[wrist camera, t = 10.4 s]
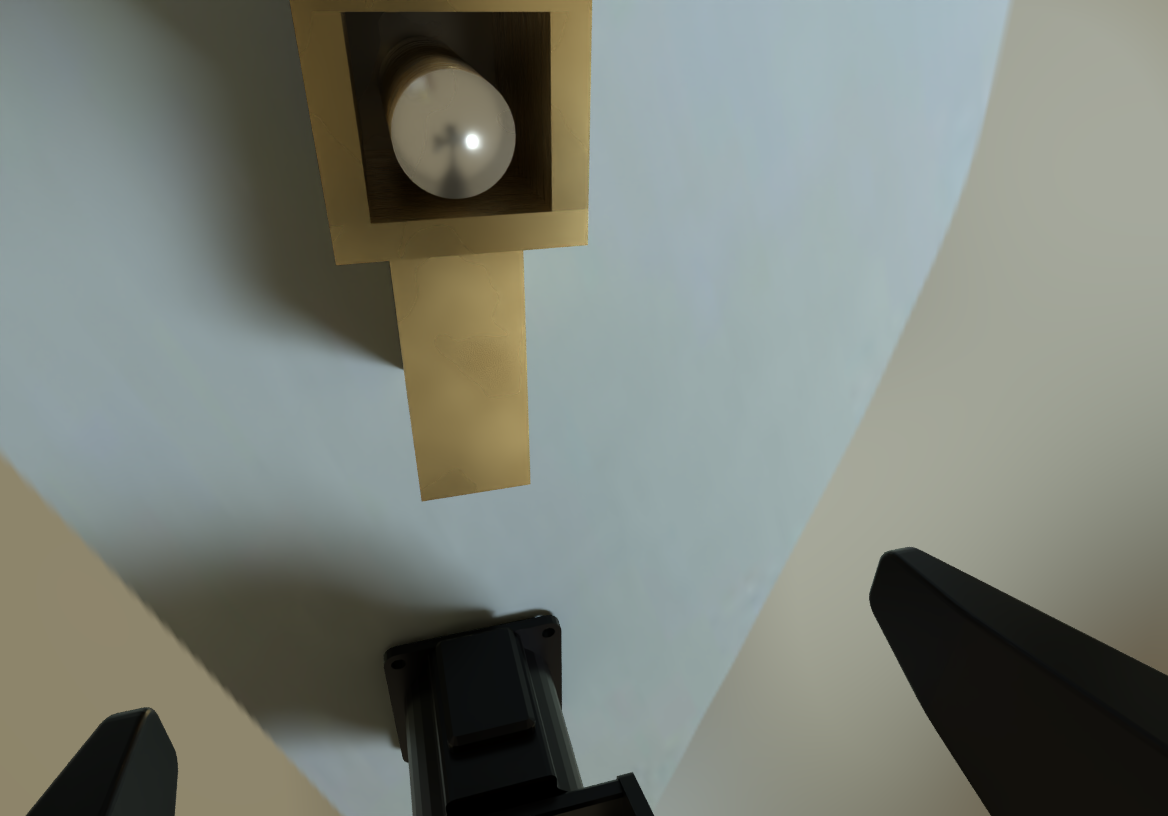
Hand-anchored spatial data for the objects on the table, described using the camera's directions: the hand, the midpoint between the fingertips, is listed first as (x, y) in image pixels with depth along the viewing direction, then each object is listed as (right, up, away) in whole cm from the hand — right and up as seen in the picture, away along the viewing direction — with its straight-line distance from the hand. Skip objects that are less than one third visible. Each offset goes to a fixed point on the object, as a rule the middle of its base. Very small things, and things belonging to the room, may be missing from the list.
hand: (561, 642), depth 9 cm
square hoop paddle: (-4, +8, +9) cm, 13 cm away
